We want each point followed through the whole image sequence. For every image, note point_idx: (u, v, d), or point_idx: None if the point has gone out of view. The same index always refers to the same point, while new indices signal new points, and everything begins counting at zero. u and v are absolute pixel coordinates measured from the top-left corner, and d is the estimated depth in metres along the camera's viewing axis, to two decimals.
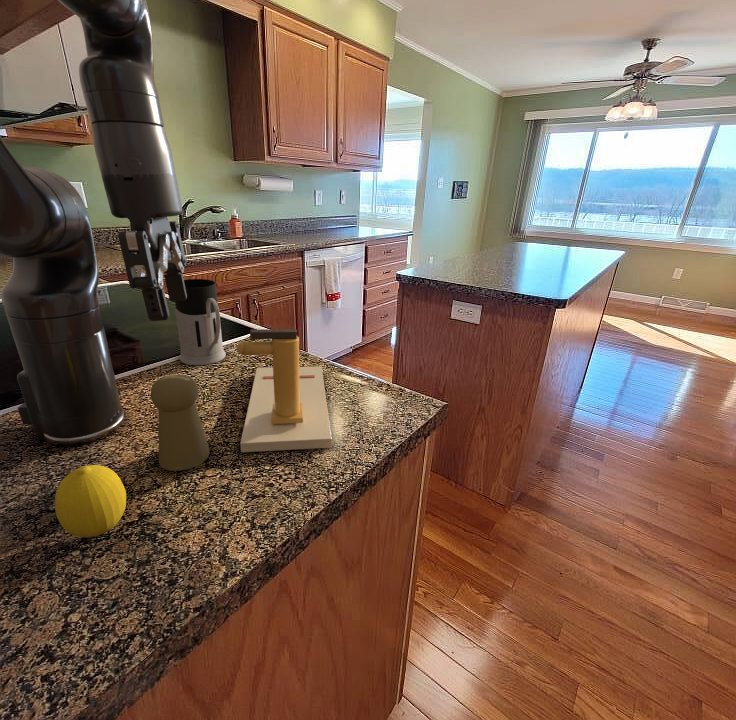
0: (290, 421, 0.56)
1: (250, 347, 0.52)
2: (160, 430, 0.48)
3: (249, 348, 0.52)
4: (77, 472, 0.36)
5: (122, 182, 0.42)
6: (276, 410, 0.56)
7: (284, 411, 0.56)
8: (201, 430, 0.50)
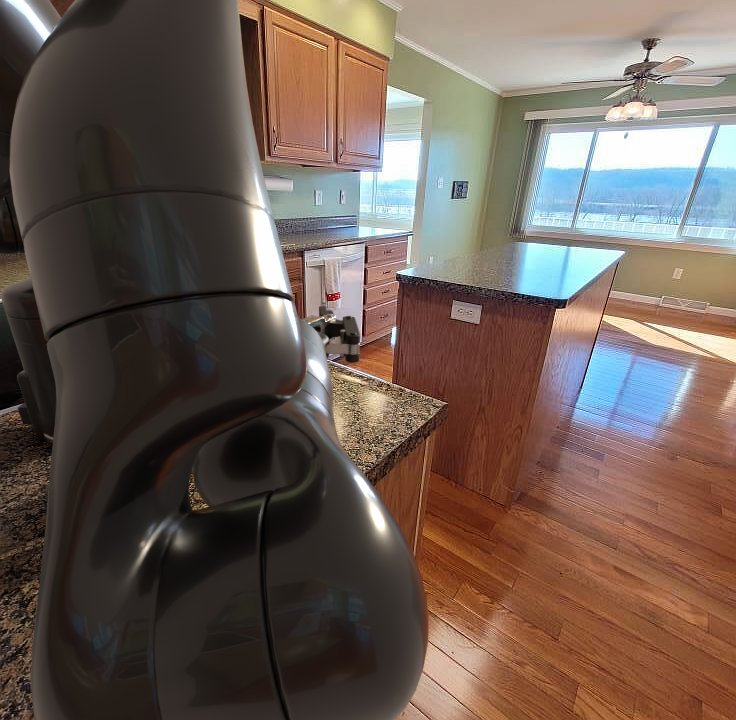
0: None
1: None
2: None
3: None
4: None
5: None
6: None
7: None
8: None
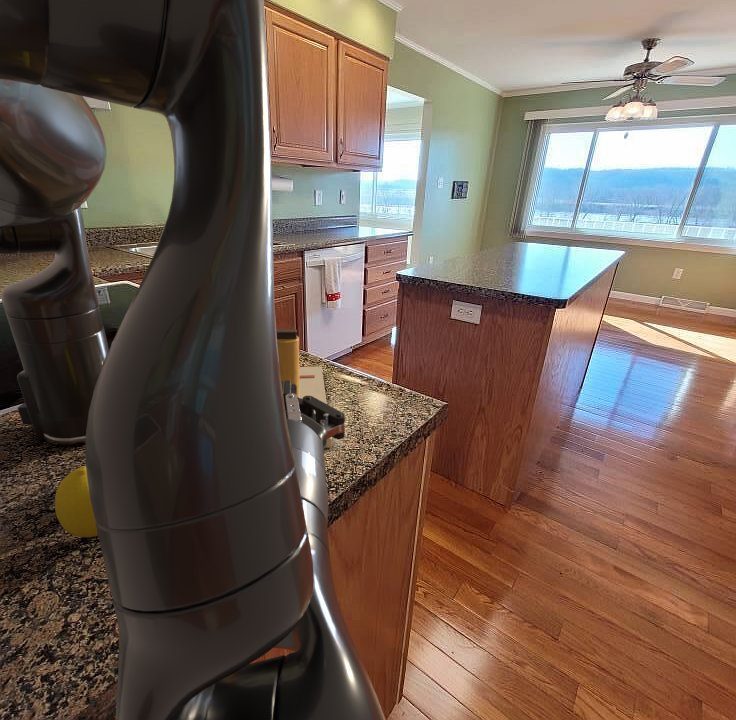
0: None
1: None
2: None
3: None
4: (77, 472, 0.36)
5: None
6: None
7: None
8: None
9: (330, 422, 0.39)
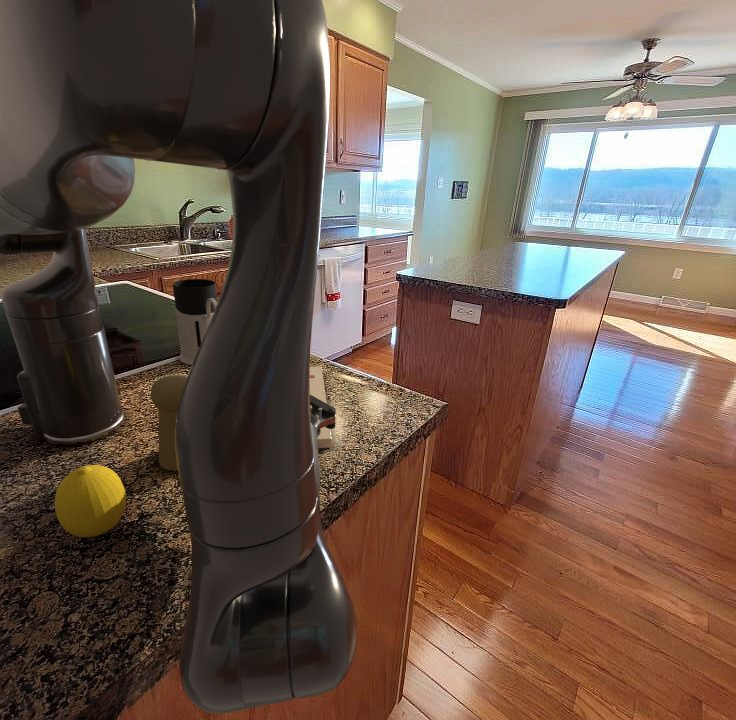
0: None
1: None
2: (160, 430, 0.48)
3: None
4: (77, 472, 0.36)
5: None
6: None
7: None
8: None
9: (323, 415, 0.48)
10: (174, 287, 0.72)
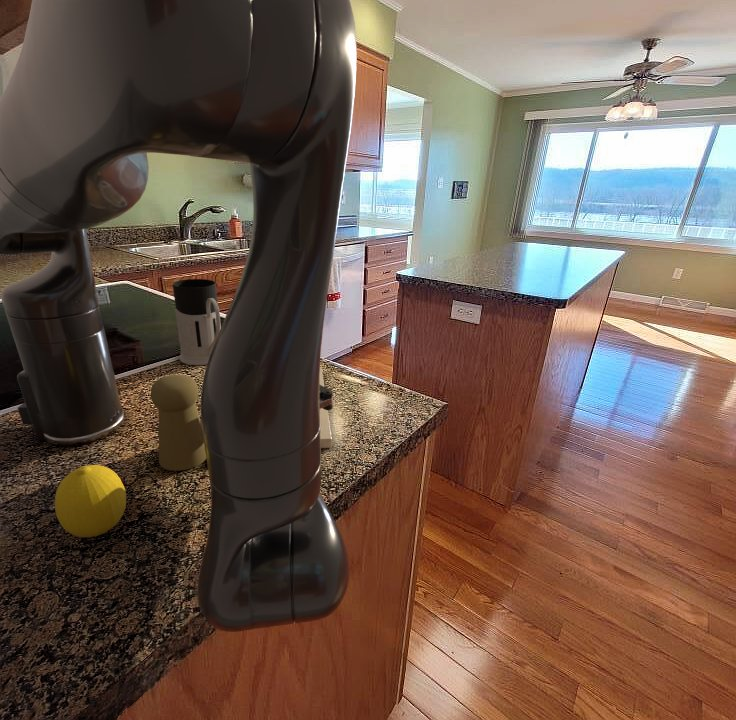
0: None
1: None
2: (160, 430, 0.48)
3: None
4: (77, 472, 0.36)
5: None
6: None
7: None
8: (201, 430, 0.50)
9: (321, 397, 0.52)
10: (174, 287, 0.72)
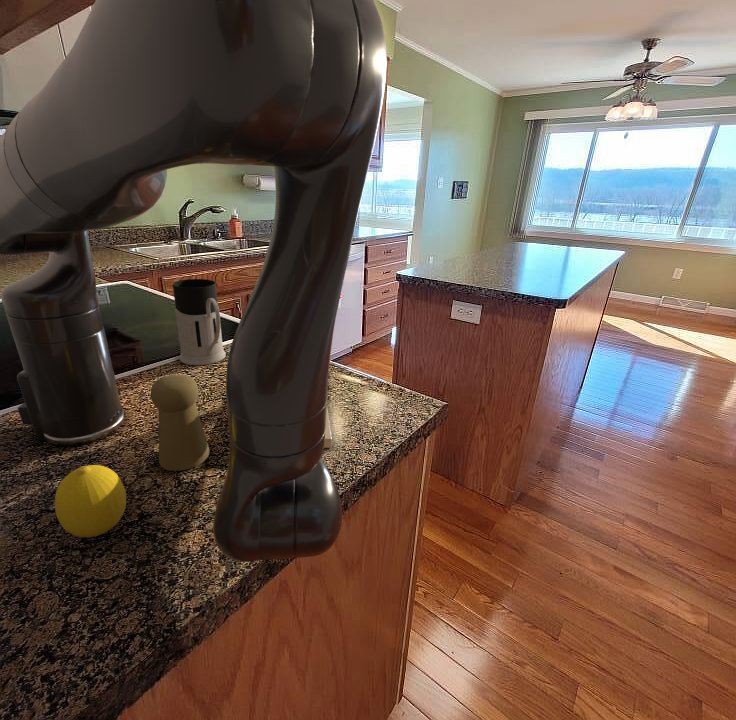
0: None
1: None
2: (160, 430, 0.48)
3: None
4: (77, 472, 0.36)
5: None
6: None
7: None
8: (201, 430, 0.50)
9: None
10: (174, 287, 0.72)
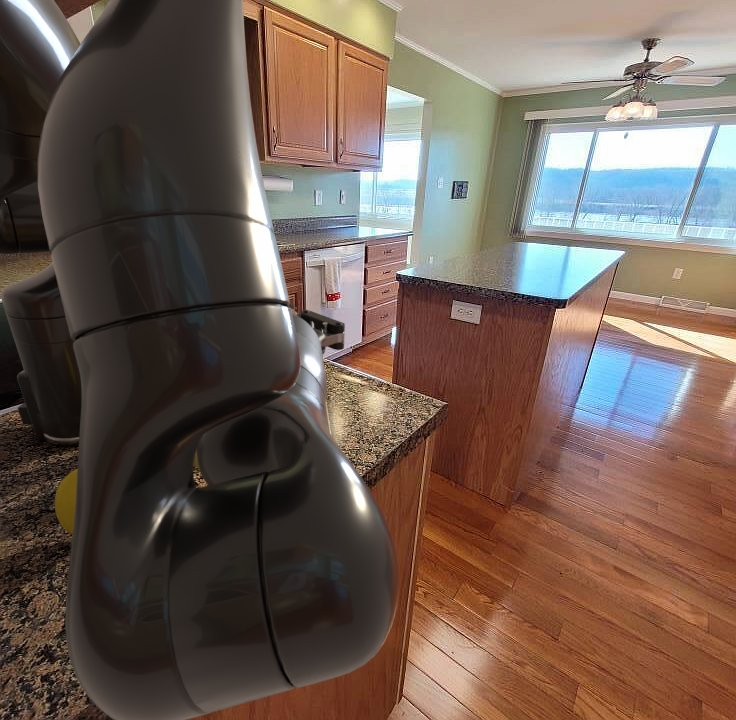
0: None
1: None
2: None
3: None
4: None
5: None
6: None
7: None
8: None
9: (329, 331, 0.37)
10: None
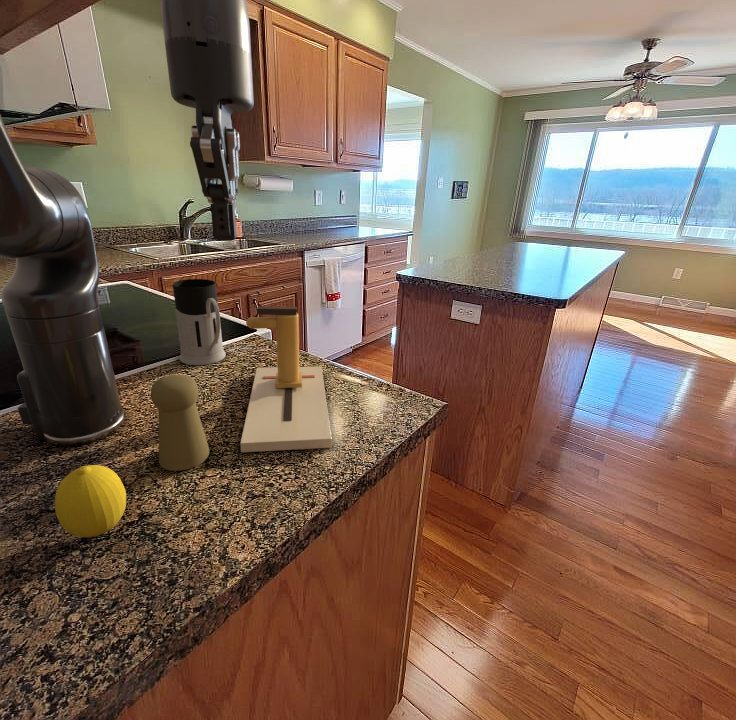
0: (291, 386, 0.66)
1: (257, 321, 0.62)
2: (160, 430, 0.48)
3: (256, 322, 0.62)
4: (77, 472, 0.36)
5: (193, 48, 0.34)
6: (279, 376, 0.66)
7: (286, 377, 0.66)
8: (201, 430, 0.50)
9: None
10: (174, 287, 0.72)
